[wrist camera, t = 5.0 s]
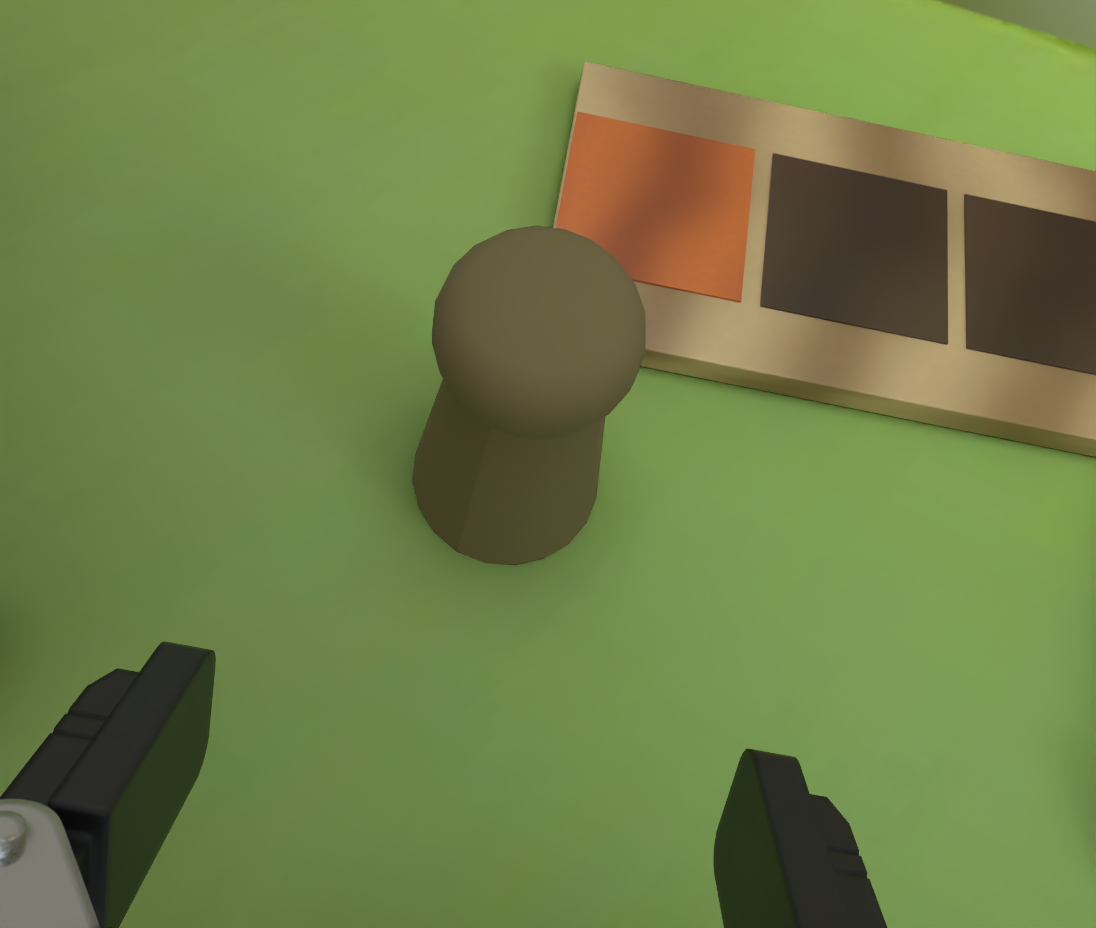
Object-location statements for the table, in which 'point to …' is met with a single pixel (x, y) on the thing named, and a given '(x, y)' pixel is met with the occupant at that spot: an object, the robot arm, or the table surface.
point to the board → (843, 257)
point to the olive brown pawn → (525, 391)
